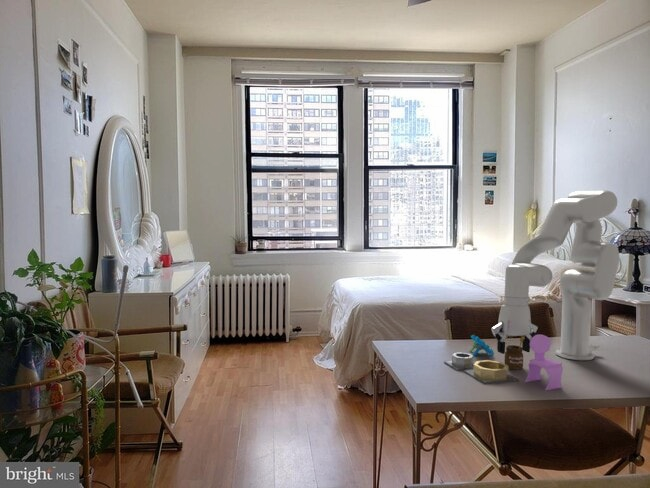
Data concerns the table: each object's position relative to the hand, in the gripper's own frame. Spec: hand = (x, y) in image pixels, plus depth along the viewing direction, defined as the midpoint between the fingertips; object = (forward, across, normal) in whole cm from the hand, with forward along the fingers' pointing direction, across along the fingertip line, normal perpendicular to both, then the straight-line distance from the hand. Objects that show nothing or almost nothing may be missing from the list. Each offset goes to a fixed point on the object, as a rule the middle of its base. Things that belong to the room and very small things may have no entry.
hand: (513, 351), depth 174 cm
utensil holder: (+6, -1, 0) cm, 6 cm away
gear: (+6, +2, -16) cm, 17 cm away
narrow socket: (+6, +15, -6) cm, 17 cm away
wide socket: (+6, +12, +6) cm, 15 cm away
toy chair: (+6, +1, +17) cm, 18 cm away
